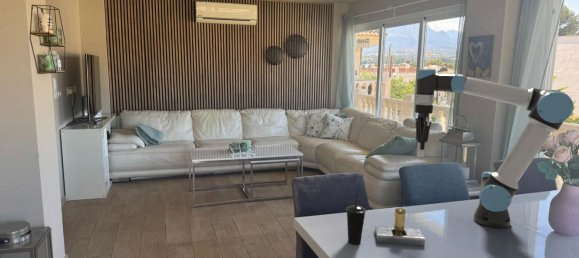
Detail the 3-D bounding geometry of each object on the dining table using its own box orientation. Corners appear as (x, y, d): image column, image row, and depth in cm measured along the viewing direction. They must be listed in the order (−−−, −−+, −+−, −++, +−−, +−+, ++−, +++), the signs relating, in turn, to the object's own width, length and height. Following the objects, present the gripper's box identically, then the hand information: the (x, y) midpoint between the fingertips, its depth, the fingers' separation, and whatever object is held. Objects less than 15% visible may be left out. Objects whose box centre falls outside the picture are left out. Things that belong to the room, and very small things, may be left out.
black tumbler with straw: (366, 240, 165) (369, 192, 162) (361, 248, 159) (364, 197, 156) (347, 236, 169) (350, 189, 166) (342, 244, 162) (344, 194, 159)
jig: (418, 234, 173) (419, 226, 173) (424, 246, 161) (425, 238, 161) (374, 231, 175) (375, 223, 175) (377, 243, 164) (377, 235, 163)
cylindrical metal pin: (403, 236, 170) (404, 208, 168) (404, 240, 166) (406, 212, 164) (392, 236, 171) (394, 208, 169) (393, 240, 167) (395, 211, 165)
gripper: (410, 102, 190) (407, 153, 193) (421, 105, 177) (417, 159, 180) (426, 103, 190) (423, 153, 194) (438, 105, 177) (434, 159, 181)
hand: (420, 156), depth 187 cm, fingers closed
